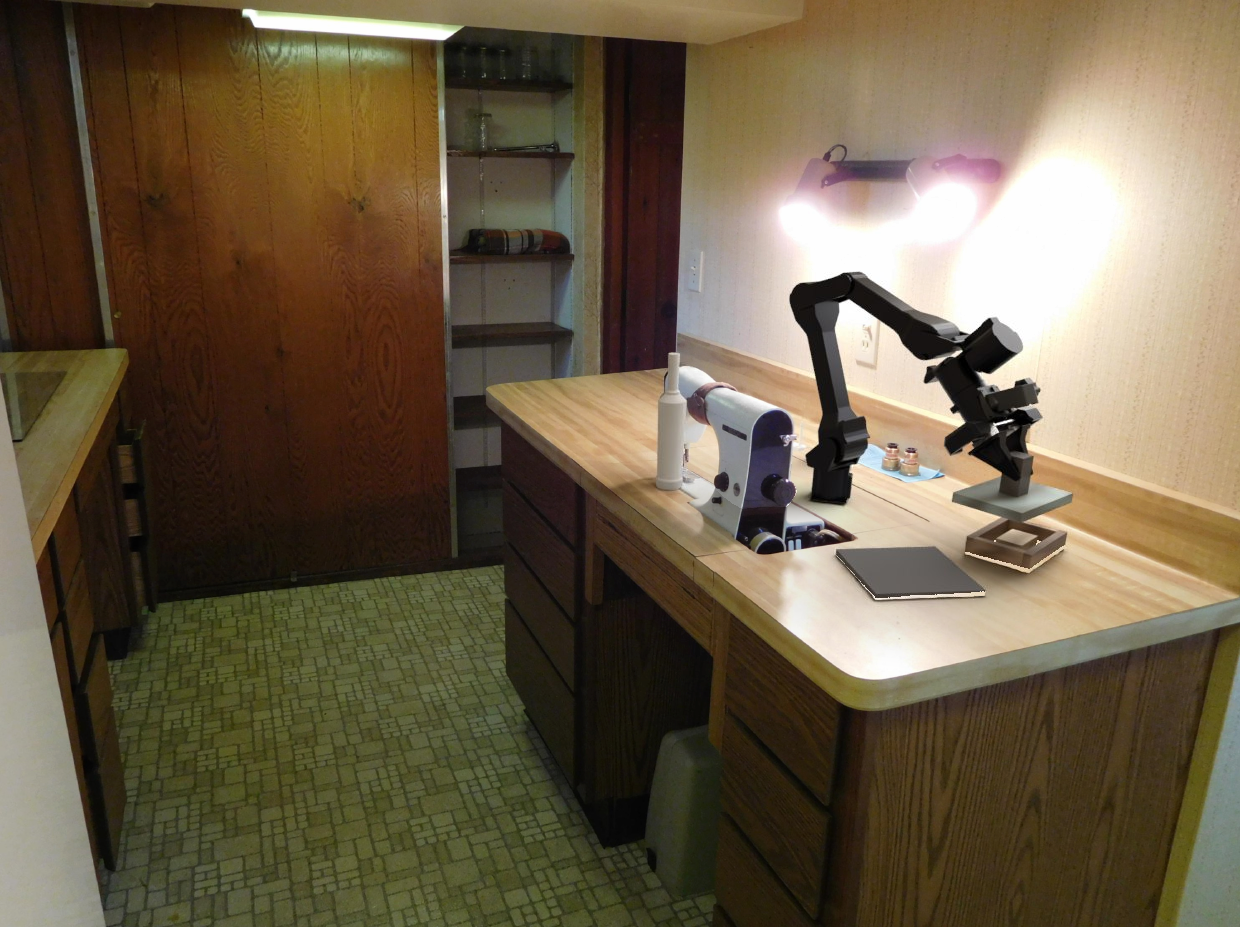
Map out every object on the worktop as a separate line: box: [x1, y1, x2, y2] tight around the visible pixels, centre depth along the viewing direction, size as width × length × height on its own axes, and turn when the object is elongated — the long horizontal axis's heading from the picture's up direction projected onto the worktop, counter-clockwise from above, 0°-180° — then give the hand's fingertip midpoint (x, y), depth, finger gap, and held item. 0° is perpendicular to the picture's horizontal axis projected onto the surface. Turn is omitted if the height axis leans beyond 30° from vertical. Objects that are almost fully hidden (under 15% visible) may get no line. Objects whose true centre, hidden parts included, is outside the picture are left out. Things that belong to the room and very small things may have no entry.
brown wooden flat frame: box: [964, 517, 1068, 569], centre depth 145 cm, size 10×14×3 cm
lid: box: [951, 451, 1074, 523], centre depth 139 cm, size 11×15×8 cm
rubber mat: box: [835, 545, 987, 598], centre depth 136 cm, size 16×16×1 cm
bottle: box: [654, 352, 688, 491], centre depth 169 cm, size 5×5×25 cm
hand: (1024, 477), depth 138 cm, fingers closed on lid, 3 cm apart
